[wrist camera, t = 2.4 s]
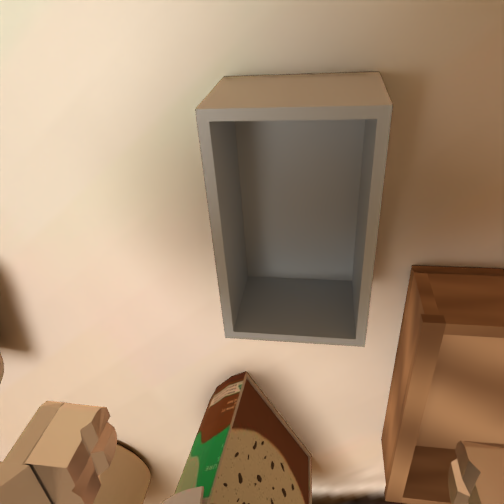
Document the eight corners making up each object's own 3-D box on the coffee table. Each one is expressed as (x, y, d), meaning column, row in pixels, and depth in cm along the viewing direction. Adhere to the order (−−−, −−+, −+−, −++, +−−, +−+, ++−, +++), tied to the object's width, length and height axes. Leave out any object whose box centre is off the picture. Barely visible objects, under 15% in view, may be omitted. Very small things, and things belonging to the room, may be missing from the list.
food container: (156, 378, 29) (86, 545, 21) (233, 355, 27) (190, 534, 18) (248, 478, 34) (222, 642, 26) (320, 466, 32) (316, 643, 24)
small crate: (223, 76, 17) (195, 109, 14) (379, 71, 16) (392, 105, 13) (242, 276, 23) (225, 337, 19) (359, 281, 22) (364, 346, 18)
